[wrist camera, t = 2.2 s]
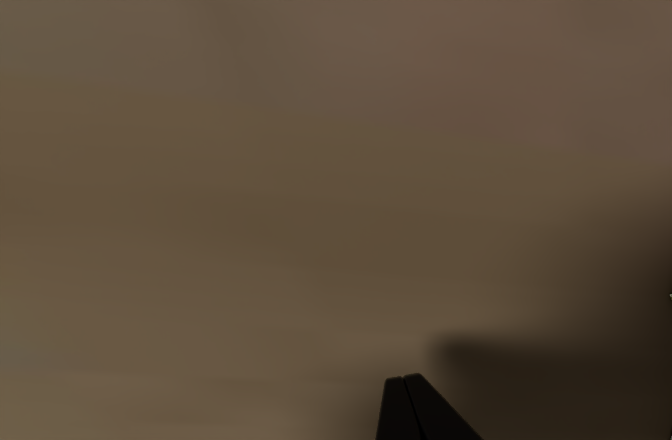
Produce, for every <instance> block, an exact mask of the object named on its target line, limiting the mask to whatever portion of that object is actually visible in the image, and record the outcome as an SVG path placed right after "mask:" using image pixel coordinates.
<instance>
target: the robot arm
mask: <svg viewBox="0 0 672 440" xmlns="http://www.w3.org/2000/svg"><path fill="white" fill-rule="evenodd" d="M375 440H483V439H482V438H481V437H480V436H479V435H478V433H477V432H476V431H475V430H474V429H473V428H472V427H471V426H470V425H469V424H468V423H467V422H466V421H465V420H464V419H463V418H462V417H461V416H460V414H459V413H458V412H457V411H456V410H455V409H454V408H453V407H452V406H451V405H450V404H449V403H448V402H447V401H446V400H445V399H444V398H443V397H442V396H441V394H440V393H439V392H438V391H437V390H436V389H435V388H434V387H433V386H432V385H431V384H430V383H429V382H428V381H427V380H426V379H425V378H424V377H423V376H422V375H421V374H420V373H414V374H409V375H405V376H404V377H403V378H402V377H401V376H398V377H392V378H387V379H386V380H385V384H384V390H383V396H382V402H381V408H380V414H379V420H378V426H377V432H376V438H375Z"/></svg>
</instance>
